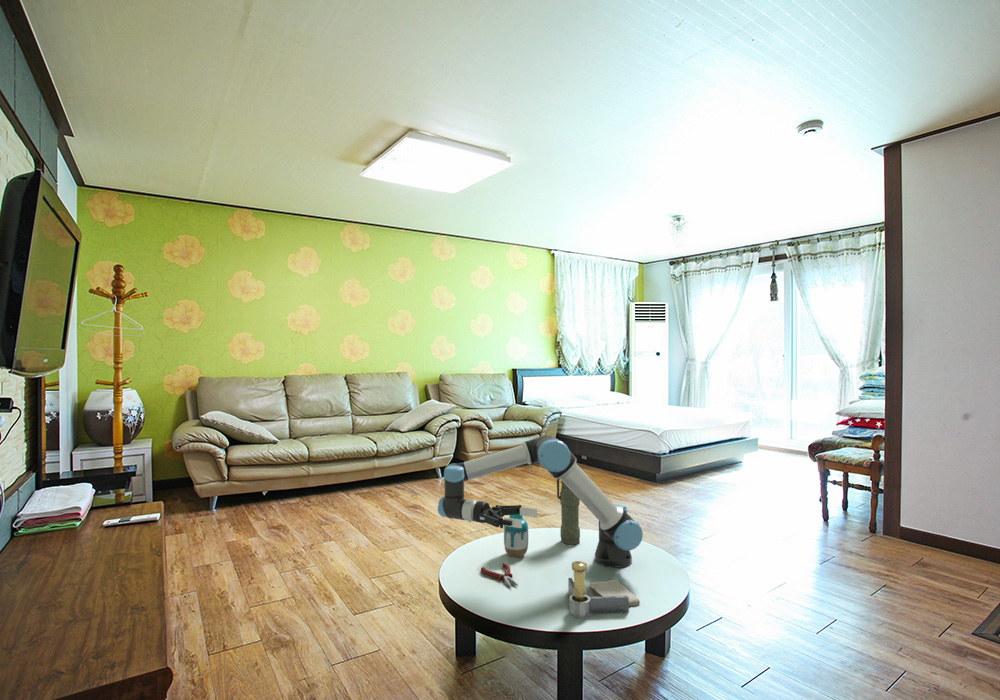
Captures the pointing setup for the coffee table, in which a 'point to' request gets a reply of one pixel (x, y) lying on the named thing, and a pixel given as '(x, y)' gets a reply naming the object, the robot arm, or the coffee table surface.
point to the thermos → (569, 515)
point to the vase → (516, 538)
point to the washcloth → (612, 591)
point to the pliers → (500, 575)
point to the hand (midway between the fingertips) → (529, 518)
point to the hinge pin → (579, 580)
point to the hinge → (596, 604)
